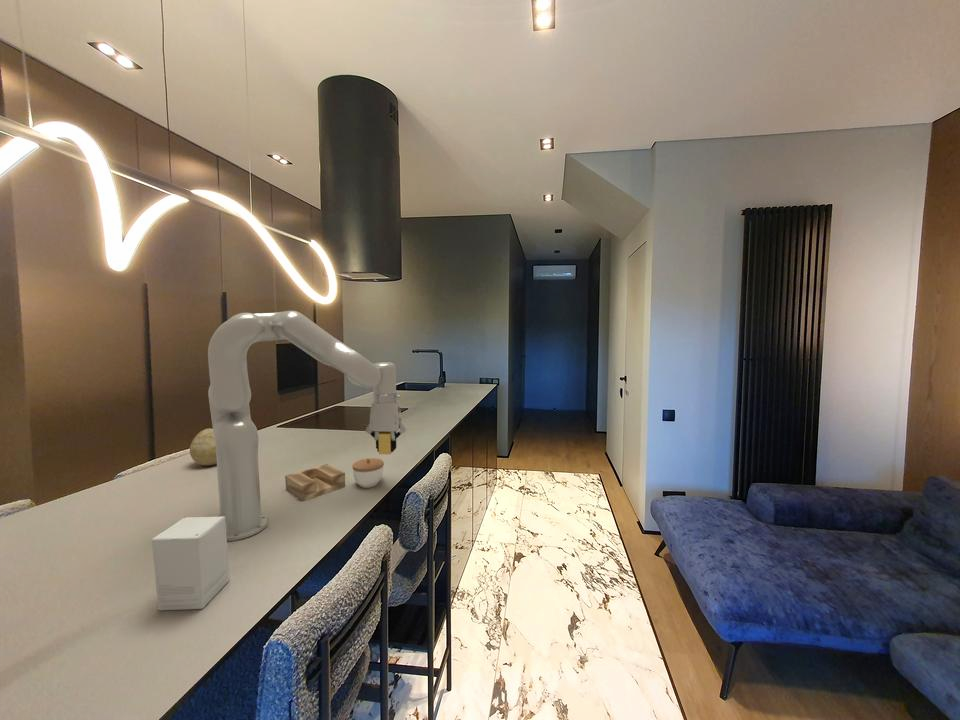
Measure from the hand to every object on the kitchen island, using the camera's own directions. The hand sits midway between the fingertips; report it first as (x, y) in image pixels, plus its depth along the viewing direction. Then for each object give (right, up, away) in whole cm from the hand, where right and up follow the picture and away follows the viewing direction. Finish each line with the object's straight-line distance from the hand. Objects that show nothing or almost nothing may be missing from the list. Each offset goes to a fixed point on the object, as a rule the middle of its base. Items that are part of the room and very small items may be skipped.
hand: (386, 450), depth 130 cm
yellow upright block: (0, -1, 0) cm, 1 cm away
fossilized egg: (-78, -12, +24) cm, 83 cm away
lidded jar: (-7, -13, +4) cm, 16 cm away
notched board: (-25, -14, +1) cm, 28 cm away
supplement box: (-27, -18, -51) cm, 61 cm away
